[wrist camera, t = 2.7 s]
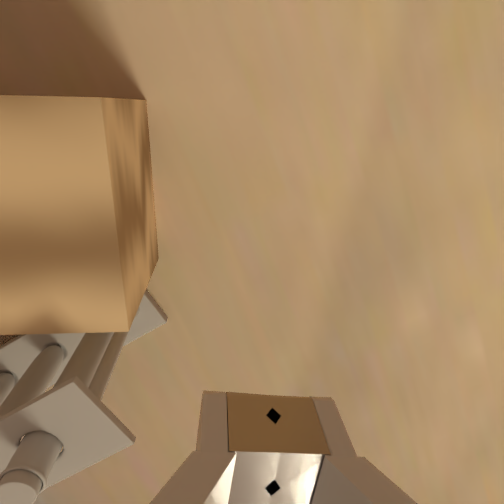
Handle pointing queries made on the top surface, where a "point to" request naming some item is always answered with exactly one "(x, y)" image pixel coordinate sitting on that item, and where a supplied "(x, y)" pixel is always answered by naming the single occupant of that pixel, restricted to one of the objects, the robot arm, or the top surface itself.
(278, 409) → the robot arm
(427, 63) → the top surface
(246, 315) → the top surface
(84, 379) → the test tube rack
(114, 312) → the oak block
